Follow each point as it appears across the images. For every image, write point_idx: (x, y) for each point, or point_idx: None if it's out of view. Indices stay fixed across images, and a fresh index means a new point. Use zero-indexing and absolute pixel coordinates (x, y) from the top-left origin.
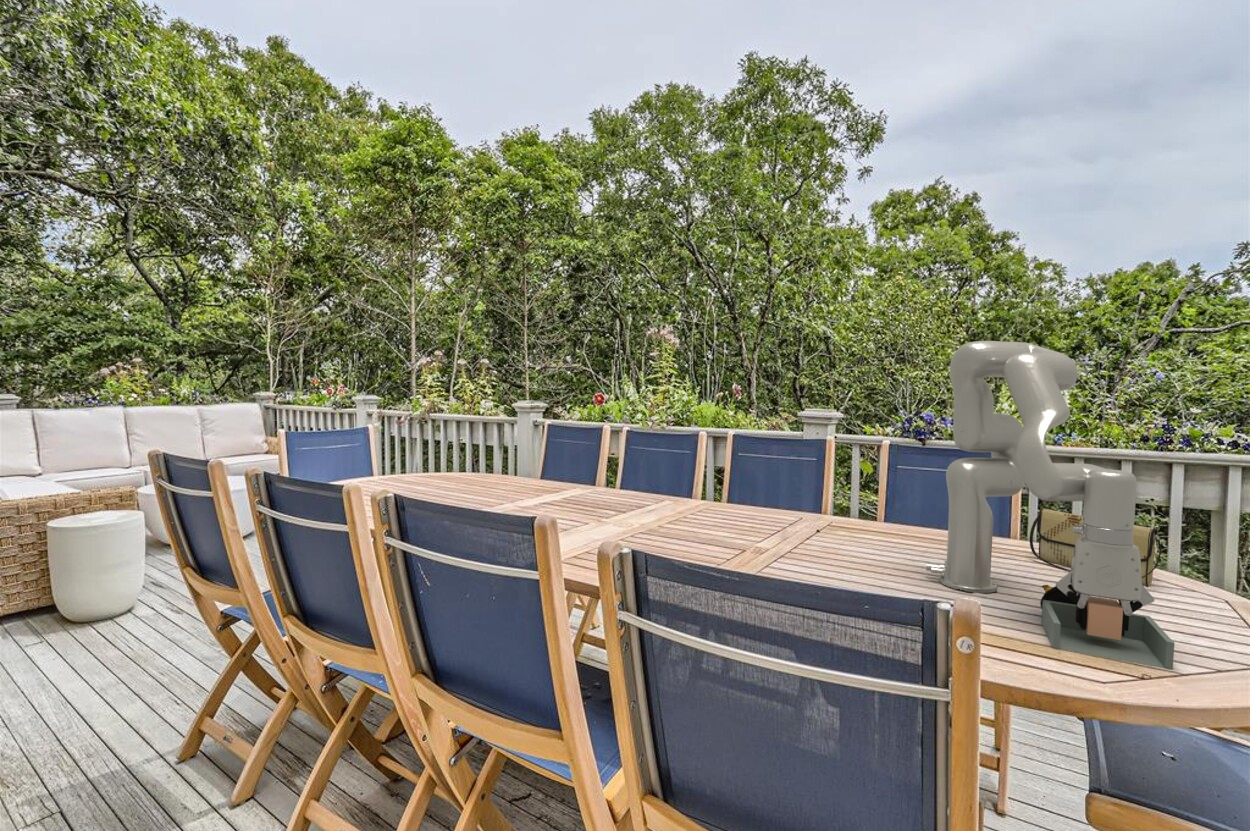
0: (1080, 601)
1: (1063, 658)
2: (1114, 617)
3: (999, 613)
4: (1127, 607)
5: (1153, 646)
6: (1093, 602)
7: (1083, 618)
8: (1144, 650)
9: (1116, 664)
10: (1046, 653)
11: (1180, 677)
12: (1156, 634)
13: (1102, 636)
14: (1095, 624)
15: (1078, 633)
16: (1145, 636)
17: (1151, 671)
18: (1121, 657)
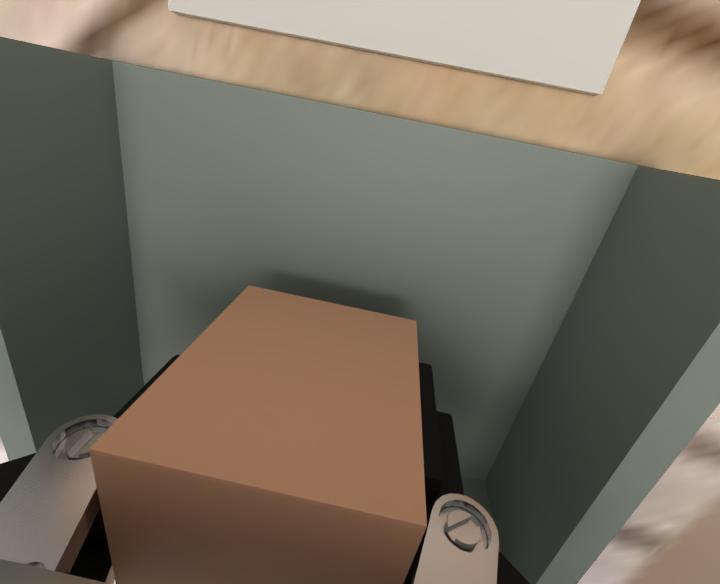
0: (477, 570)
1: (644, 79)
2: (226, 381)
3: (608, 567)
4: (49, 482)
5: (107, 290)
6: (363, 548)
7: (432, 414)
8: (161, 299)
9: (344, 102)
10: (714, 134)
11: (69, 25)
12: (23, 291)
13: (339, 306)
14: (372, 354)
15: None
16: (120, 402)
17: (191, 61)
18: (299, 154)
